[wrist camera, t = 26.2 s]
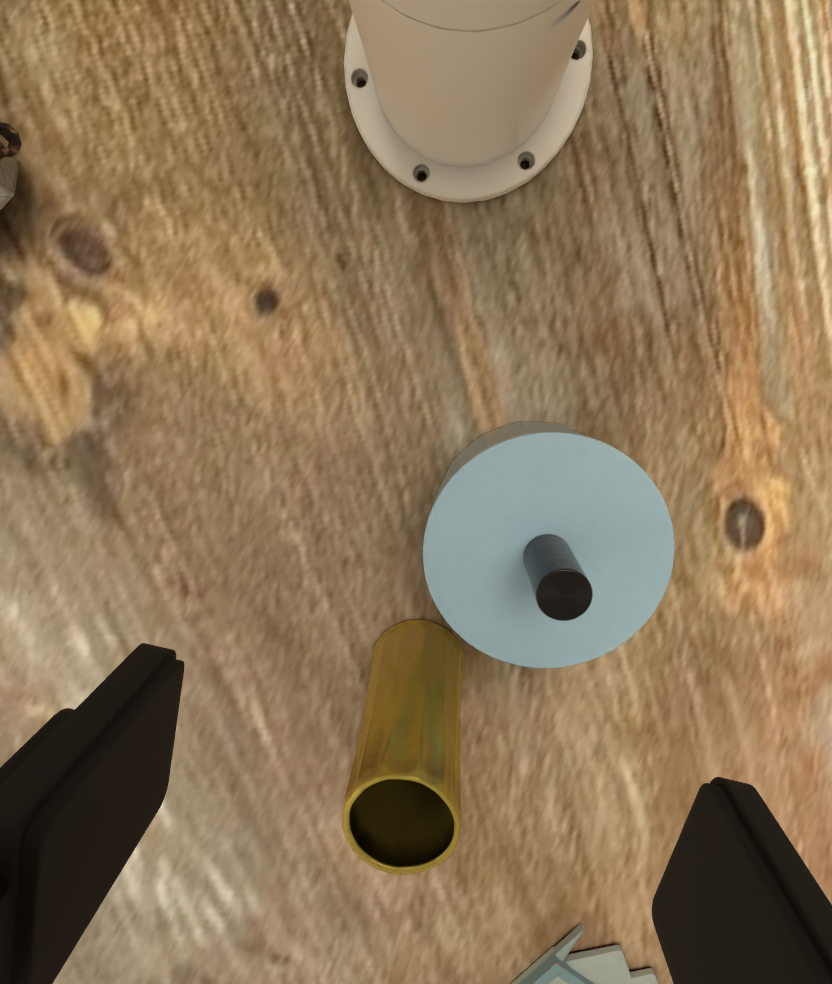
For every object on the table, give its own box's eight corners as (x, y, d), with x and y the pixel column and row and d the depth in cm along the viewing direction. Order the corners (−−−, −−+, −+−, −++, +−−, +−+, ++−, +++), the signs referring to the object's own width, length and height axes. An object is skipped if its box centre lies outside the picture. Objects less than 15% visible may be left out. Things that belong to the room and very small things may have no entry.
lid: (489, 387, 30) (497, 397, 24) (714, 493, 31) (776, 529, 25) (385, 600, 33) (371, 655, 27) (592, 693, 34) (622, 767, 28)
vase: (408, 600, 40) (384, 740, 26) (484, 653, 40) (500, 818, 26) (354, 668, 41) (304, 835, 27) (428, 718, 42) (416, 907, 28)
